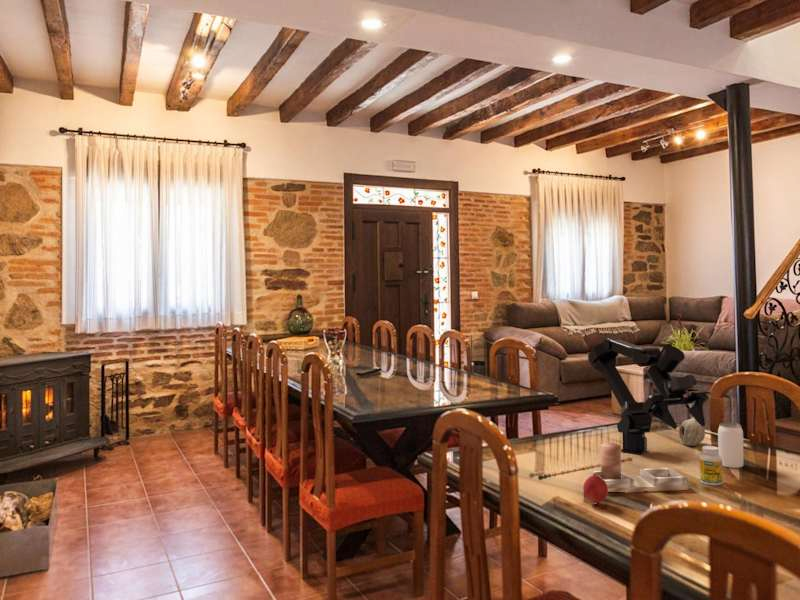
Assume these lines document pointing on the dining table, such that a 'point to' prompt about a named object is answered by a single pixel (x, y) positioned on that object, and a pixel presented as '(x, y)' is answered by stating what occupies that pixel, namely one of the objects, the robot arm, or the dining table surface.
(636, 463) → the dining table surface
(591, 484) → the onion
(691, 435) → the grey round lump
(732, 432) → the can
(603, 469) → the candle holder
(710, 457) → the supplement bottle
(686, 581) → the dining table surface
